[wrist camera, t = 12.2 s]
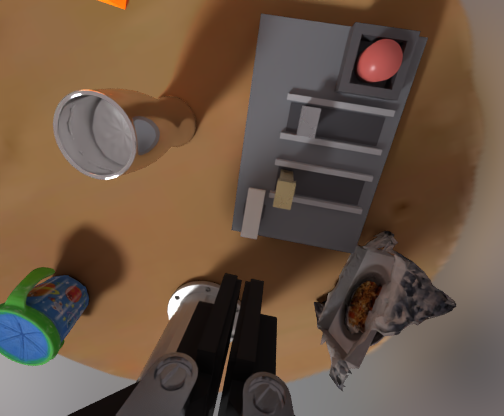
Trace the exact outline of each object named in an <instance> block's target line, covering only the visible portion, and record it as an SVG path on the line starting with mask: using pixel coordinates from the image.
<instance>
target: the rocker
mask: <svg viewBox="0 0 504 416" xmlns="http://www.w3.org/2000/svg"><path fill="white" fill-rule="evenodd" d="M265 192H266V190H261V189H256V188H250V187H249V189H248V195H247V201H246V207H245V213H244V219H243V225H242V230H241V237H246V238H252V239H257V235H258V230H259V225H260V219H261V214H262V208H263V203H264V197H265Z"/></svg>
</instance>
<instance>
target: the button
mask: <svg viewBox="0 0 504 416" xmlns="http://www.w3.org/2000/svg"><path fill="white" fill-rule="evenodd" d="M402 59H403V53H402V49H401V47H400V45H399V44H398V43H397V42H395V41H394V40H391V39H382V40H379V41H377V42H375V43H373V44H372V45H370V46H369V47H367V48H366V49H364V50H363V51H362V52H361V53H360V54H359V55H358V57H357V59H356V61H355V65H354V70H355V74H356V76H357V78H358V79H359V80H360V81H362V82H364V83H373V82H378V81H383V80H387V79H389V78H390V77H392V76H393V75H394V74H395V73H396V72H397V71H398V70H399V68H400V66H401V63H402Z"/></svg>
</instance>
